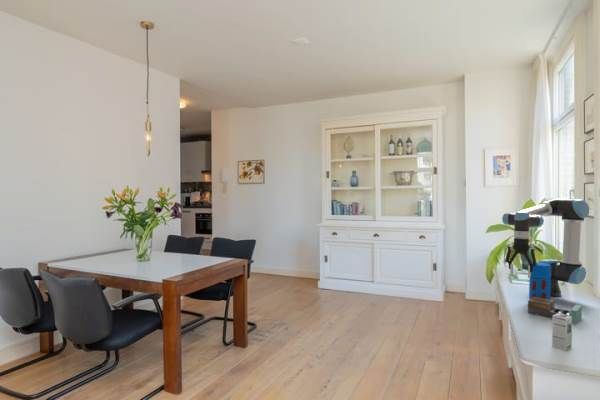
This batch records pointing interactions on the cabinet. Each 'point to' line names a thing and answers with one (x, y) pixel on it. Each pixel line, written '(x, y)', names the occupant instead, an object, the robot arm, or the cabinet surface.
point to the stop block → (576, 313)
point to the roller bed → (550, 313)
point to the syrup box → (562, 331)
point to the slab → (541, 304)
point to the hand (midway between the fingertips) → (520, 275)
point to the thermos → (540, 281)
